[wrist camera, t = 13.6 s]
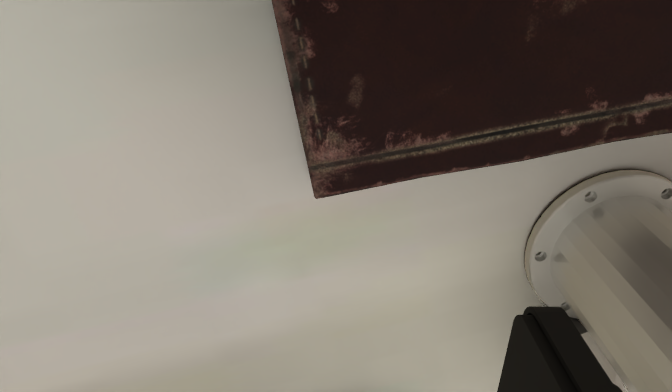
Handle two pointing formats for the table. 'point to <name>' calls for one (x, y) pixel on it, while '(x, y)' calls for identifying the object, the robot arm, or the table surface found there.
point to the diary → (469, 82)
